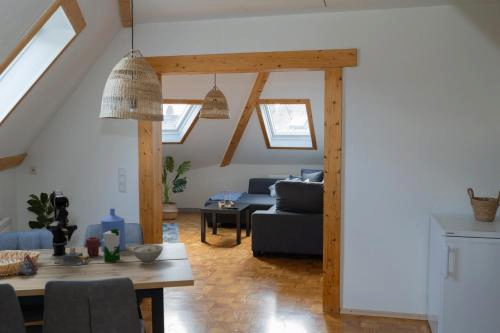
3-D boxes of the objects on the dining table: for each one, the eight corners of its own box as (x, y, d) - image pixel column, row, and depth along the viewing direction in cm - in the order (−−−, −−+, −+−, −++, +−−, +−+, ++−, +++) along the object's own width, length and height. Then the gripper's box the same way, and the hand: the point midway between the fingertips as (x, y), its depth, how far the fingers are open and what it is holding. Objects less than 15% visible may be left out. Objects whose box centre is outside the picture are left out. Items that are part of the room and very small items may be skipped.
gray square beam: (70, 260, 301) (69, 248, 300) (72, 259, 303) (72, 247, 302) (73, 261, 300) (73, 248, 299) (75, 260, 302) (75, 247, 301)
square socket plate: (54, 263, 298) (54, 255, 298) (66, 258, 310) (66, 250, 309) (81, 265, 293) (81, 257, 293) (93, 260, 305) (92, 252, 304)
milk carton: (115, 262, 299) (114, 230, 297) (102, 262, 301) (101, 230, 299) (122, 259, 307) (121, 227, 306) (109, 258, 309) (108, 227, 308)
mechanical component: (89, 253, 321) (103, 254, 320) (82, 257, 311) (97, 258, 310) (88, 235, 320) (103, 235, 319) (81, 238, 310) (96, 239, 309)
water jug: (129, 247, 337) (128, 207, 335) (118, 253, 322) (117, 211, 320) (109, 246, 341) (107, 206, 339) (97, 251, 326) (95, 210, 324)
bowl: (148, 256, 312) (148, 241, 311) (170, 261, 301) (170, 245, 300) (125, 263, 296) (124, 247, 296) (147, 269, 285) (146, 252, 284)
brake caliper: (44, 267, 281) (33, 254, 274) (32, 283, 274) (20, 269, 267) (31, 265, 286) (19, 252, 279) (19, 280, 279) (6, 267, 272)
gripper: (39, 217, 295) (40, 243, 297) (66, 219, 290) (67, 244, 292) (51, 214, 306) (52, 239, 307) (77, 215, 301) (78, 240, 302)
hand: (62, 240), depth 302 cm, fingers open, 9 cm apart
